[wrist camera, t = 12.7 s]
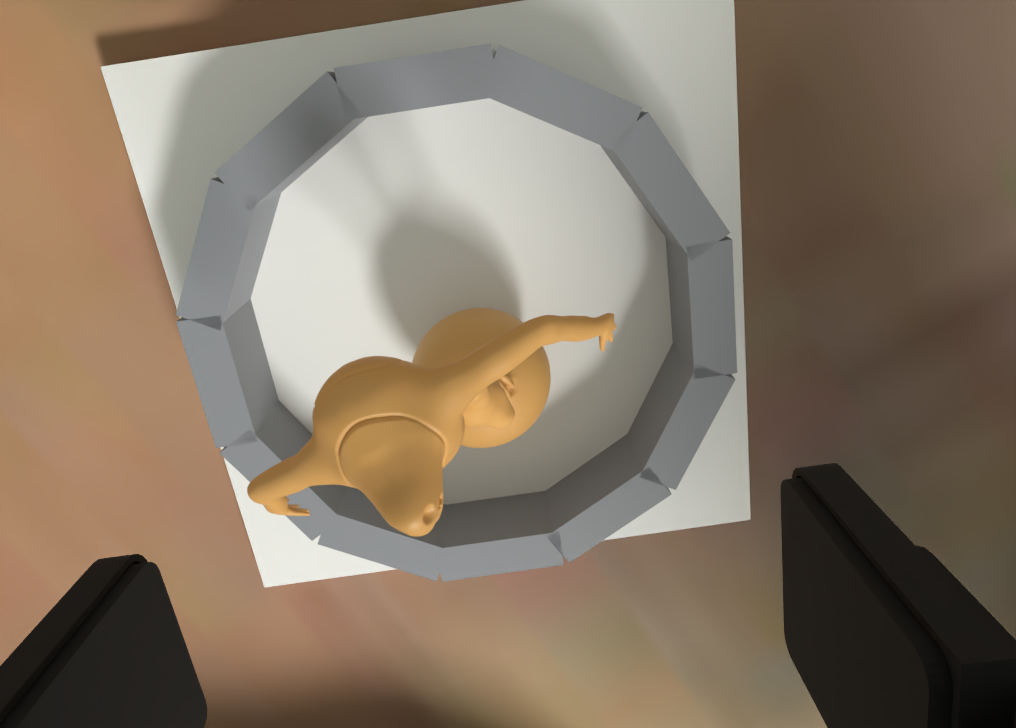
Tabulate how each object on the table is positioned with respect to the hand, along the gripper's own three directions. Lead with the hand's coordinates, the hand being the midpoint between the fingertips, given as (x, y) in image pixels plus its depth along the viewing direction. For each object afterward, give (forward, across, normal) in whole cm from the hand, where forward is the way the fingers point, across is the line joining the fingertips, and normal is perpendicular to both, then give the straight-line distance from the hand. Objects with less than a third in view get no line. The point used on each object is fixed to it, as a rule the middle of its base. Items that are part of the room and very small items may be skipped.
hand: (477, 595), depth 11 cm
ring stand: (+13, +1, -1) cm, 13 cm away
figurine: (+13, +1, -1) cm, 13 cm away
